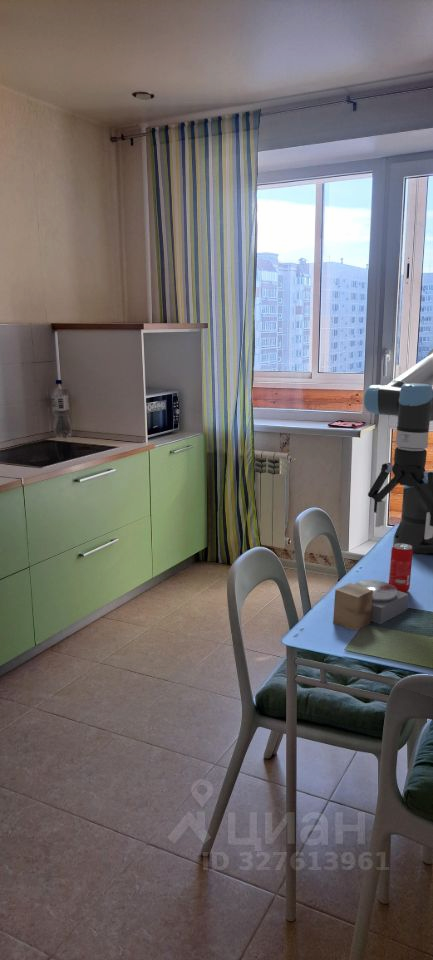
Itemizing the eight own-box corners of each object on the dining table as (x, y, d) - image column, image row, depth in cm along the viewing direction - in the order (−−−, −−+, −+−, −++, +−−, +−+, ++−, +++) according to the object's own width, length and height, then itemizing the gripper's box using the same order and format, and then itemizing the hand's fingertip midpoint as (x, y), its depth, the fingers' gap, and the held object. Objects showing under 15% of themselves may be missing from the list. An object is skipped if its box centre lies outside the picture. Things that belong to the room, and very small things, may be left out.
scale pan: (368, 582, 172) (368, 577, 172) (404, 594, 166) (405, 588, 165) (345, 593, 165) (345, 587, 165) (382, 606, 159) (382, 599, 158)
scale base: (367, 596, 174) (368, 581, 174) (407, 609, 167) (408, 593, 166) (338, 610, 166) (339, 594, 165) (379, 625, 158) (380, 608, 157)
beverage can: (385, 592, 177) (389, 547, 175) (390, 585, 182) (394, 541, 179) (406, 596, 175) (410, 550, 172) (411, 589, 179) (415, 545, 177)
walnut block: (348, 615, 163) (350, 582, 161) (370, 623, 159) (372, 590, 157) (333, 622, 159) (335, 589, 157) (355, 631, 155) (358, 597, 153)
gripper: (358, 442, 176) (352, 523, 180) (452, 457, 159) (442, 546, 164) (374, 439, 181) (368, 518, 186) (467, 453, 164) (457, 540, 169)
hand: (403, 532), depth 175 cm, fingers open, 13 cm apart
